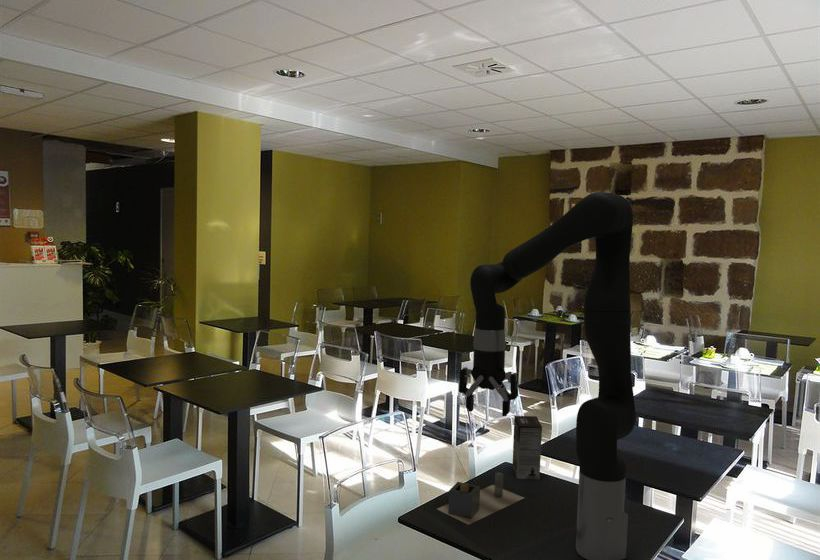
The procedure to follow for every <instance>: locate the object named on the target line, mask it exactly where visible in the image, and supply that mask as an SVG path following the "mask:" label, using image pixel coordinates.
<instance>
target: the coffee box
mask: <svg viewBox="0 0 820 560" xmlns="http://www.w3.org/2000/svg"><path fill="white" fill-rule="evenodd" d="M513 421H514V422H513V443H512V445H513V446H512V469H513V471H514V474H515V477H516V479H518V480H519V479H521V480H541V479H540V477H541V458H542V456H541V455H542V437H543V435H542V433H543V426H542V423H540V421H539V419H538V417H537V416H536V415H514V417H513Z"/></svg>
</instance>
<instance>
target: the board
mask: <svg viewBox="0 0 820 560" xmlns="http://www.w3.org/2000/svg"><path fill="white" fill-rule="evenodd" d="M460 491H462V492H467V493H469V483H468V482H461V484H460ZM523 499H525V497H524V496H521V495H520V494H519V495H518V494H517V493H514V492H511V491H510V490H506V489H504V473H503V472H495V473H494V484H491V485H489V486H486V487H484V488H482V489H480V504H479V510H478V511H477V513H476V514H475V515H474V516H473V518H472V519H469V518H465V517H461V516H456V515H452V514H448V511H449V503H447V504H445V505H442V506H440V507H438V508H436V510H438V511H439V512H441V513H443V514H445V515H448V516H449V517H452V518H454V519H455V520H457V521H460V522H461V523H464V524H466V525H472V524H474V523H475V522H477V521H479V520H482V519H484V518H486V517H488V516H490V515H492V514H494V513H496V512H499V511H500V510H503V509H504V508H507V507H509V506H512V505H513V504H516V503H517V502H519V501H522V500H523Z"/></svg>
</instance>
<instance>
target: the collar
mask: <svg viewBox="0 0 820 560" xmlns="http://www.w3.org/2000/svg"><path fill="white" fill-rule="evenodd" d="M461 483H462V482H460V481H457V482H456V483H455V484H453V486H452V487H450V489H449V491H448V504H449V511H448V514H452V515H456V516H461V517H465V518H469V519H472V518H473V516H474V515H475V514H476V513H477V511H478V510H479V504H480V490H481V486H479V485H475V484H471V483H470V484H469V483H468V484H469V493H467V492H462V491H460V484H461Z"/></svg>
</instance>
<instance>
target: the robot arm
mask: <svg viewBox="0 0 820 560" xmlns="http://www.w3.org/2000/svg"><path fill="white" fill-rule="evenodd" d="M633 224H634V211H633V208H632V205H631V203H630V202H629V200H628V199H627V198H626V197H625V196H623V195H620V194H617V193H613V192H612V193H611V192H606V191H596V192H591V193H589V194H588V195H586V196H585V197H583V198H582V199H581V200H579V201H578V202H577V203H576V204H575V205H573V206H572V207H571V208H570V209H569V210H568V211H566V212H565V213H564V214H563V215H562V216H561V217H560V218H558V219H557V220H556V221H554V222H553V223H552V224H551V225H549V226H548V227H546V228H545V229H543V230H542V231H541V232H539V233H537V234H536V235H534V236H533V237H531V238H529V239H528V240H526V241H525V242H523V243H521V244H519V245H518V246H516V247H514V248H512V249H511V250H510V251H508V252H506V254H504V257H503V259H502V261H501V262H498V263H494V264H492V263H491V264H480V265H477V266H476V267H474V269H473V271H472V272H471V275H470V276H471V277H470V292H471V297H472V300H473V305H474V309H475V327H474V328H475V329H474V336H473V345H472V346H473V361H472V363H473V364H472V366H473V367H472V369H470V368H468V367H463V368H461V369H460V370H459V371H460V372H459V379H458V380H459V382H458V393H460V394H463V395H465V408H466V409H467V410H468V411H467V412H473V411H474V406H475V403H474V402H475V396H474V392H475V391H476V390H477V389H478V388H480V389H483V390H485V389H486V390H487V389H488V390H491V391H494V390H496V392H497V393H498V394H499V396H501V398H502V406H501V407H502V408H501V409H502V411H501V414H502V415H501V416H502V417H507V415H508V414H510V411H511V401H512V400H513V401H514V400H516V399H517V398H518V397H519V377H518V376H519V375H518V373H517V372H513V373H506V371H505V370H506V369H505V367H506V366H505V365H506V363H505V362H506V332H505V327H506V310H505V307H504V306H503V305H501V304H499V303H497V302H498V301H497V298H496V294H502V293H504V292H507V291H508V290H511V289H512V288H514V287H515V286H516V285H517V284H518V283H520V282H521V281H522V280H523V279H524V278H527V277H529V276H530V275H532V274H534V273H536V272H538V271H540V270H542V269H543V268H544V267H546V266H548V265H549V264H551V262H553V260H555V259H556V258H557V257H558V256H559V255H561V253H562V252H563V251H565V250H566V249H568V248H569V247H571V246H574V245H577V244H578V243H580V242H583V241H585V240H586V241H587V240H588V239H592V238H594V241H595V261H594V262H595V263H594V267H593V271H592V274H591V277H590V280H589V282H588V286H587V289H586V292H585V296H584V304H583V329H584V336H585V339H586V342H587V345H588V347H589V349H590V351H591V354H592V356H593V357H594V361H595V363H596V367H597V369H598V370H597V373H598V393H597V394H598V396H597V397H595V398H591V399H588V400H586V401H584V402H583V403H581V405H580V407H579V408H578V410H577V414H576V423H575V426H576V429H575V444H576V445H575V446H576V447H575V451H576V456H577V459H578V464H579V471H578V472H579V473H578V491H577V492H578V493H577V509H576V510H577V513H576V533H575V534H576V537H575V550H576V553H577V554H578V555H579V556H580V557H581V558H583V559H586V560H624V559H626V558H627V546H628V543H627V540H628V527H629V526H628V525H629V514H628V513H627V512H625V497H626V496H625V495H626V478H627V477H626V476H627V464H626V462H625V460H624V459H623V458H622V457H619V456H618V440H621V439H623V438H625V437H627V436H629V435H630V434H631V433H632V431H633V430H634V428H635V425H636V419H637V415H636V405H635V404H636V403H635V395H634V387H633V378H632V350H631V349H632V348H631V347H632V345H631V343H632V342H631V333H632V331H631V330H632V327H631V326H632V314H631V313H632V311H631V309H632V308H631V274H630V273H631V272H630V270H631V269H630V264H631V263H630V258H631V257H630V256H631V246H632V237H633V235H632V234H633V228H634V227H633ZM470 376H471V377H472V378H473V380H474V382H473V383H472V384H471V385H470V387H469V388H468V387H467V386H468V385H467V384H468V378H469V377H470ZM505 380H507V382H508V383H509V385H510V393H509V391H508V389H507V387H506V385H505V384H504V381H505Z"/></svg>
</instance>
